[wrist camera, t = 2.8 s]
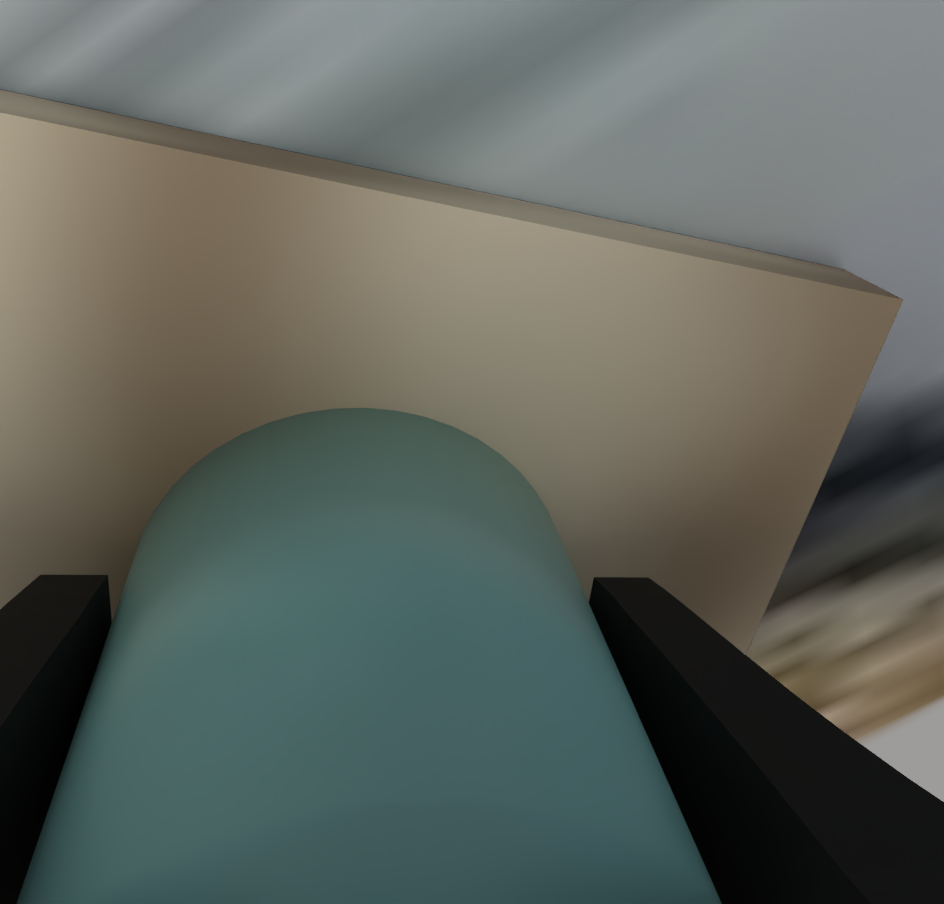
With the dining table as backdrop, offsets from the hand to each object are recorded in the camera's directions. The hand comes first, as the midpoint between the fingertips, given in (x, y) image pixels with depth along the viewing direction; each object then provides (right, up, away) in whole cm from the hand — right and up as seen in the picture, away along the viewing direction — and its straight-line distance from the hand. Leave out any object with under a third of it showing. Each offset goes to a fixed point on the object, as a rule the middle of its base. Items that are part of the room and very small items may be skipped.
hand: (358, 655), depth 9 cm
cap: (0, 0, +1) cm, 1 cm away
